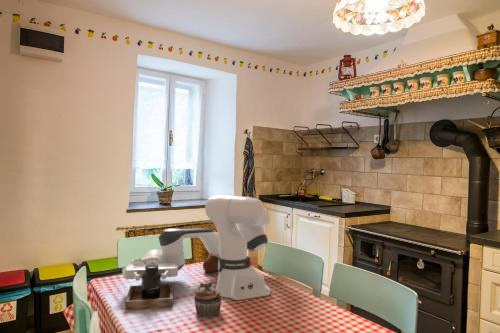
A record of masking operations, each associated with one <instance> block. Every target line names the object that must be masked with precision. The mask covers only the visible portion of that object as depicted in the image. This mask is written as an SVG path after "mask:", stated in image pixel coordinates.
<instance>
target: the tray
mask: <svg viewBox="0 0 500 333" xmlns="http://www.w3.org/2000/svg"><path fill="white" fill-rule="evenodd" d="M141 290H142V284H141V285H140V284H139V285H130V286H129V290H128V294H127V297H126V298H125V311H137V310H138V311H139V310H147V309H148V310H149V309H153V310H154V309H164V308H173V304H174V303H173V296H174V294H173V283H163V284H161V283H160V297H159V298H158V299H145V300H143V299H142V298H141Z"/></svg>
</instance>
